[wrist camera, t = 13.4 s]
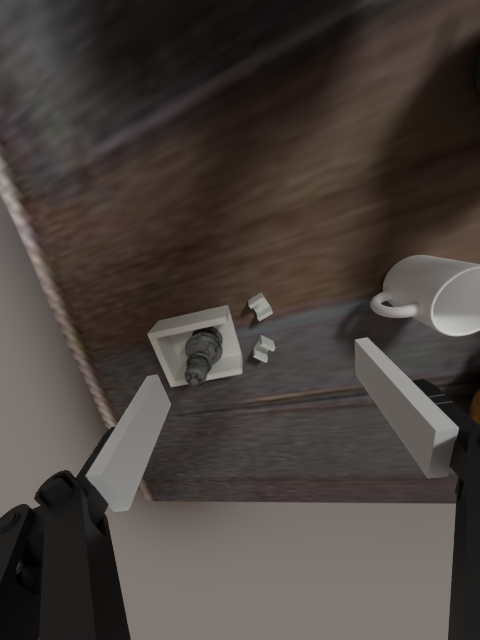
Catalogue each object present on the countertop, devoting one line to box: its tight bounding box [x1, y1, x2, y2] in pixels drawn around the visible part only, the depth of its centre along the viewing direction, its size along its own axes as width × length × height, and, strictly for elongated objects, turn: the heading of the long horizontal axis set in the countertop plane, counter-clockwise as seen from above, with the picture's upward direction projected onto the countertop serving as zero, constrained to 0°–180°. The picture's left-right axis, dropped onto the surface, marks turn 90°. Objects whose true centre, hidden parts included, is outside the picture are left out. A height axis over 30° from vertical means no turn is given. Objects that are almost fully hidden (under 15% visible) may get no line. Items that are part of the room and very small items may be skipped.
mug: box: [370, 255, 480, 336], centre depth 30 cm, size 12×8×10 cm
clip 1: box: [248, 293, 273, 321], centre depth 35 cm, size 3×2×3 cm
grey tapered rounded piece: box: [184, 326, 223, 387], centre depth 33 cm, size 6×6×12 cm
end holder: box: [147, 305, 243, 387], centre depth 37 cm, size 10×12×5 cm
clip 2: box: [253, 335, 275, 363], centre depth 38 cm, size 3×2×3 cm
